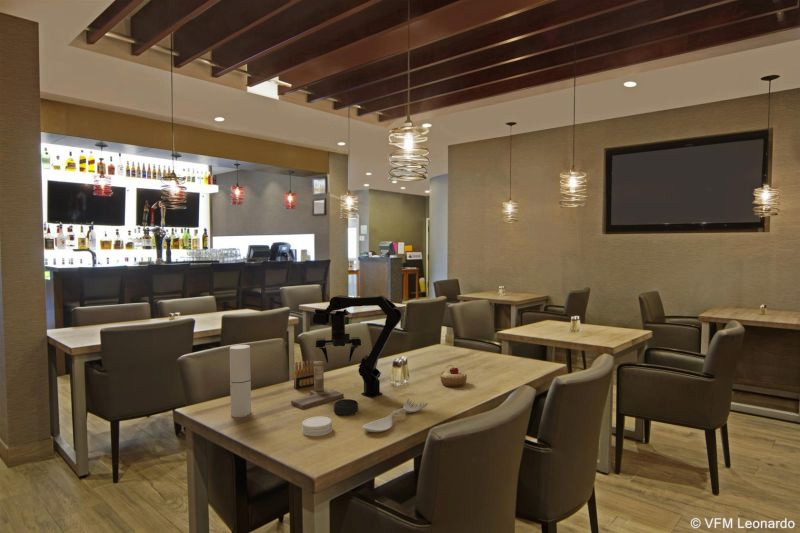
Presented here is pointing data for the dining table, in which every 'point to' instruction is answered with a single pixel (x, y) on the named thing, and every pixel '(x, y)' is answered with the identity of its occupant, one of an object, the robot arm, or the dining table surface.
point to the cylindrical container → (240, 380)
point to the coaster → (317, 426)
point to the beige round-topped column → (318, 378)
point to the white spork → (387, 421)
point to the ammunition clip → (304, 375)
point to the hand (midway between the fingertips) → (338, 362)
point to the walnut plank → (317, 399)
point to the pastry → (453, 377)
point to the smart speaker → (346, 407)
